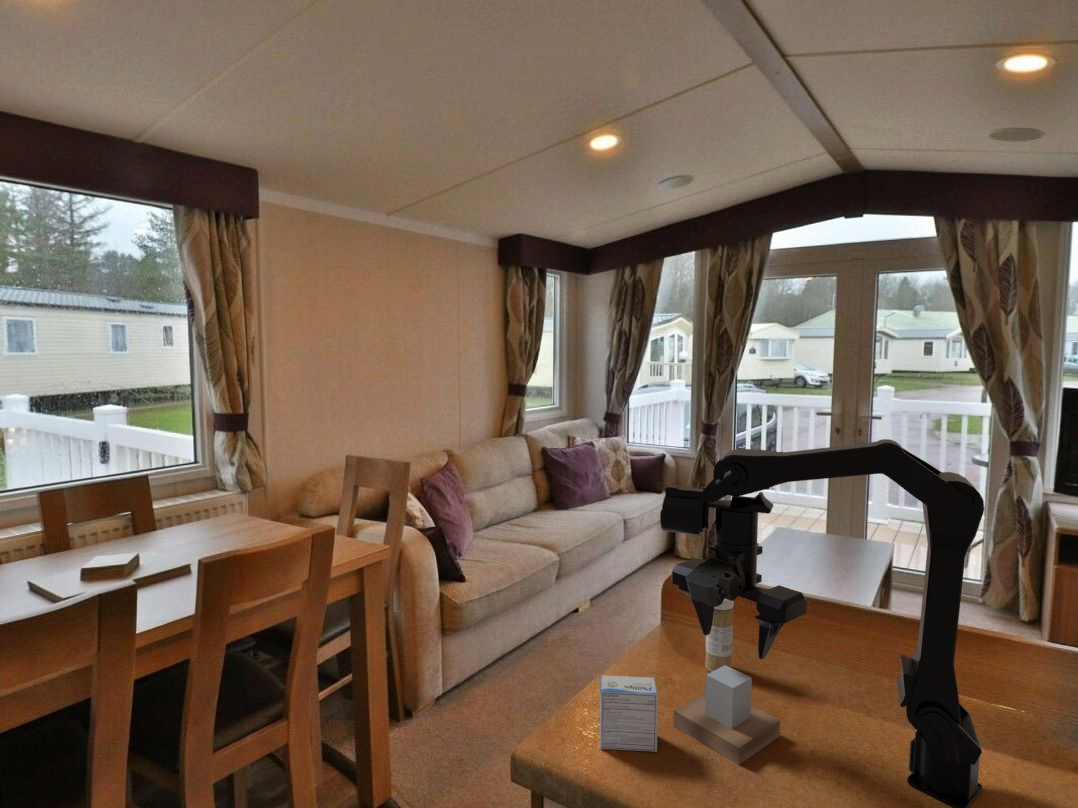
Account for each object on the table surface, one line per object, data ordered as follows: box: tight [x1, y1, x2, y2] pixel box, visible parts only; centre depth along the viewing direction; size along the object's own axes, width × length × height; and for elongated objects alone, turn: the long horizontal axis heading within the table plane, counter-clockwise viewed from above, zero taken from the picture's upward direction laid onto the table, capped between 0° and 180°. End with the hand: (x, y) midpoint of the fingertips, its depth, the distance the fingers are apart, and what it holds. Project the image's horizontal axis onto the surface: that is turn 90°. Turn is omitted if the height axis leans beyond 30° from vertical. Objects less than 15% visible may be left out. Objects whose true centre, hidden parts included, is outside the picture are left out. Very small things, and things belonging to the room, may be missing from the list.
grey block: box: [705, 665, 753, 729], centre depth 90 cm, size 4×4×6 cm
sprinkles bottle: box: [704, 599, 735, 673], centre depth 108 cm, size 5×5×14 cm
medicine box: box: [599, 675, 659, 753], centre depth 88 cm, size 8×4×9 cm, turn 84°
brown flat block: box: [673, 692, 781, 766], centre depth 91 cm, size 11×10×3 cm
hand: (733, 645), depth 90 cm, fingers open, 9 cm apart
